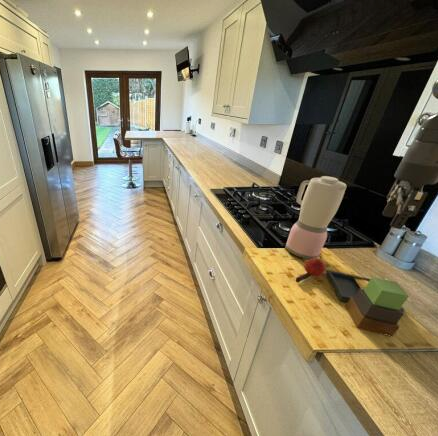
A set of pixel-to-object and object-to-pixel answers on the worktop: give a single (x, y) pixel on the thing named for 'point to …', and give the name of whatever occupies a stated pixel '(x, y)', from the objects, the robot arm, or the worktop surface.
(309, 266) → the onion
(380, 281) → the green block
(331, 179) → the blender
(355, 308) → the walnut block
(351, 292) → the tray
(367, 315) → the charcoal block
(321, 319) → the worktop surface
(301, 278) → the kitchen knife
